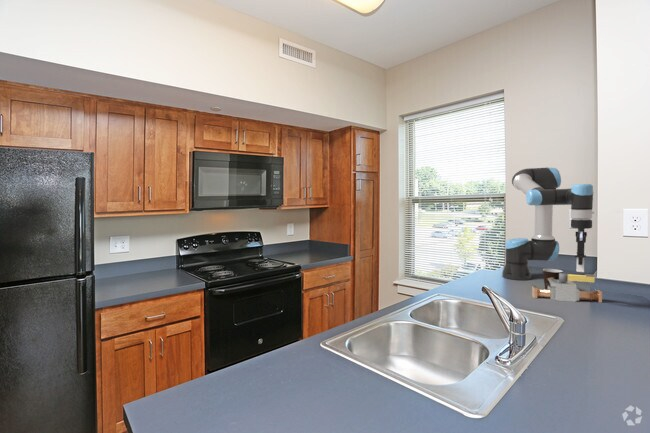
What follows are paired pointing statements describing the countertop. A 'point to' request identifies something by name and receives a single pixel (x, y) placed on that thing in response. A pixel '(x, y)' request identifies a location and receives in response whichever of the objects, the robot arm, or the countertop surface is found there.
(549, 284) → the coffee mug
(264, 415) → the countertop surface
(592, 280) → the lever
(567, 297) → the valve body
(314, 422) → the countertop surface
